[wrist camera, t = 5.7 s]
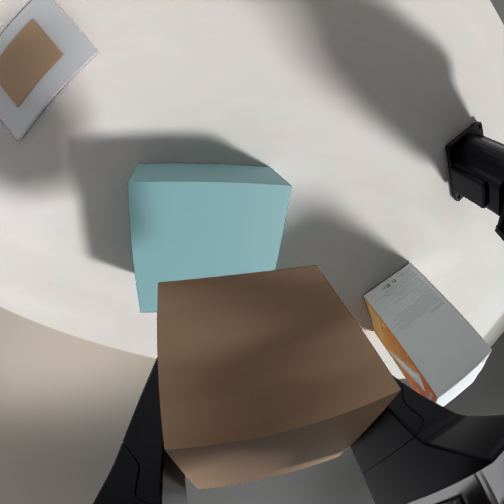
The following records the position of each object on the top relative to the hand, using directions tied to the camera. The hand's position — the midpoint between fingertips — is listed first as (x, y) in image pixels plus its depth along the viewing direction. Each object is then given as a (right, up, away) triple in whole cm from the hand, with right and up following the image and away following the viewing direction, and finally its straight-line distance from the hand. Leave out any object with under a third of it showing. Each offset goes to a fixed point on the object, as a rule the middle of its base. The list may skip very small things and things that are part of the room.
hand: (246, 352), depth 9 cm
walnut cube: (0, +1, +1) cm, 1 cm away
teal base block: (-3, +5, +9) cm, 11 cm away
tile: (-13, +14, 0) cm, 19 cm away
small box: (+15, -2, +19) cm, 25 cm away
